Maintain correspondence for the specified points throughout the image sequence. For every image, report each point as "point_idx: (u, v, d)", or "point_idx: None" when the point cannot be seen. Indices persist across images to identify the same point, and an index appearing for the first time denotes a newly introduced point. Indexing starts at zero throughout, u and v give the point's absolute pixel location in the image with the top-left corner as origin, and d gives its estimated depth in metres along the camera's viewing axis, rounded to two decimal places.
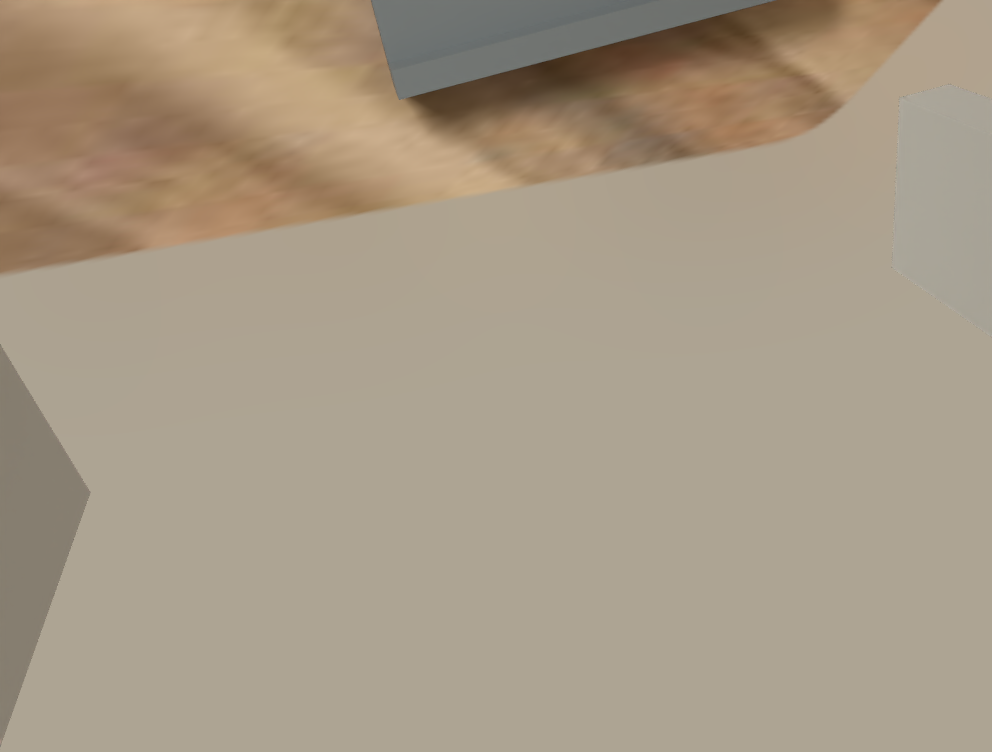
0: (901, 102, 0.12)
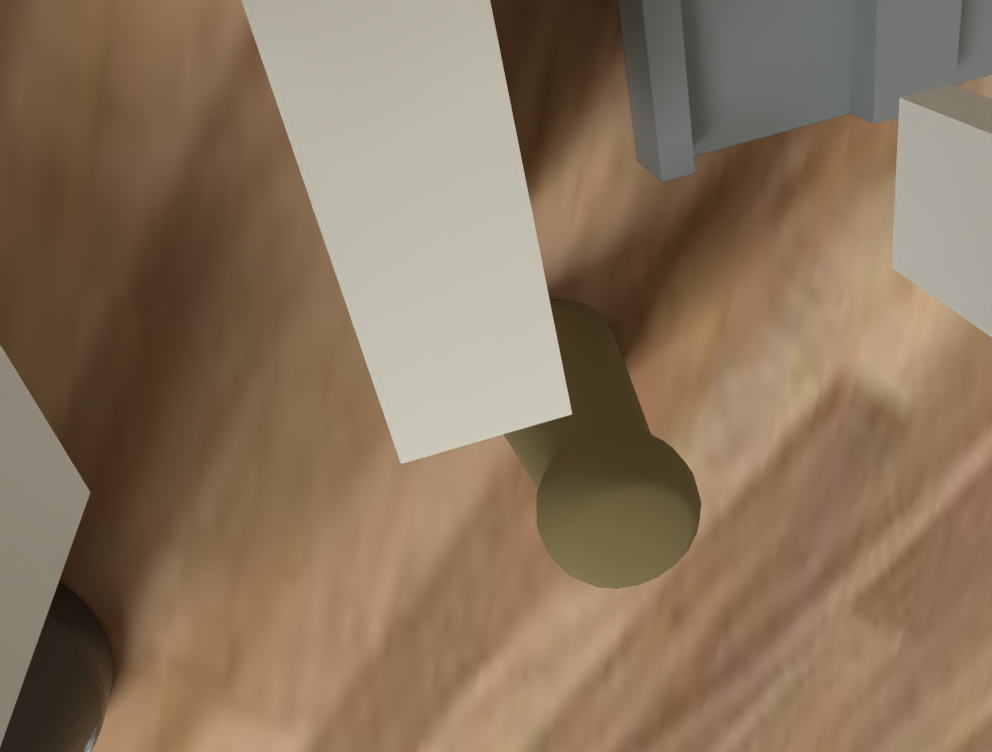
0: (901, 102, 0.12)
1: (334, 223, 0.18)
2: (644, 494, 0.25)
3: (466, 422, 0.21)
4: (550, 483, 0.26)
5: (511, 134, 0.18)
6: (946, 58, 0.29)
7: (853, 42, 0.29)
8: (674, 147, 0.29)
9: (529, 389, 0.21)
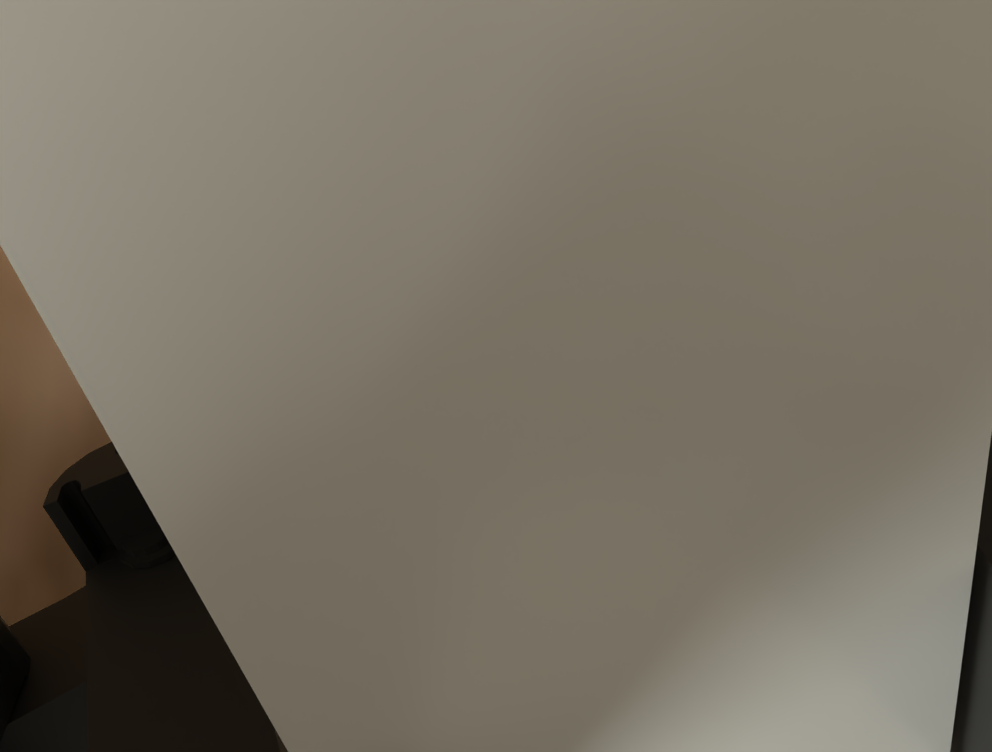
0: None
1: None
2: None
3: None
4: None
5: (948, 651, 0.06)
6: None
7: None
8: None
9: None
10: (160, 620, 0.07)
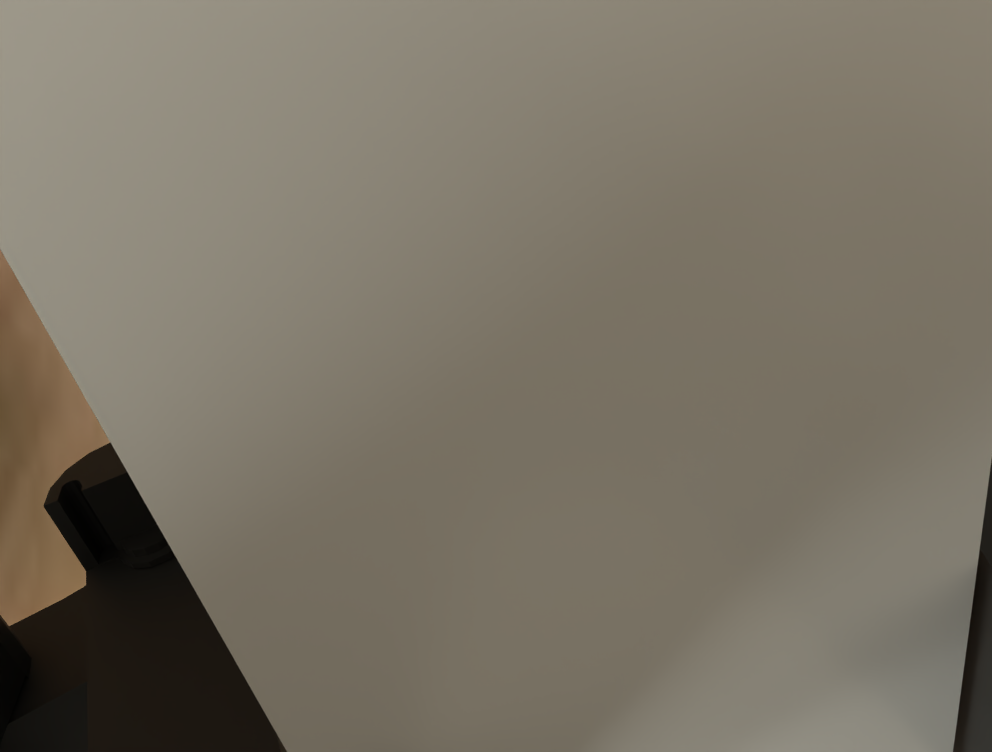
0: None
1: None
2: None
3: None
4: None
5: (951, 653, 0.06)
6: None
7: None
8: None
9: None
10: (161, 619, 0.07)
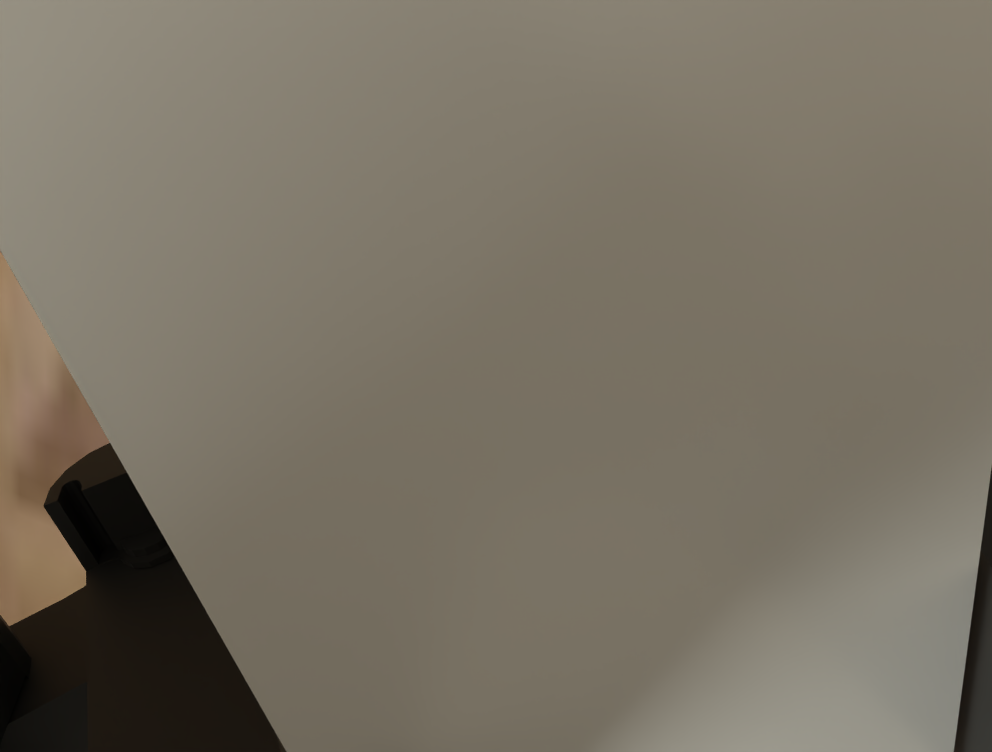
0: None
1: None
2: None
3: None
4: None
5: (952, 654, 0.06)
6: None
7: None
8: None
9: None
10: (161, 619, 0.07)
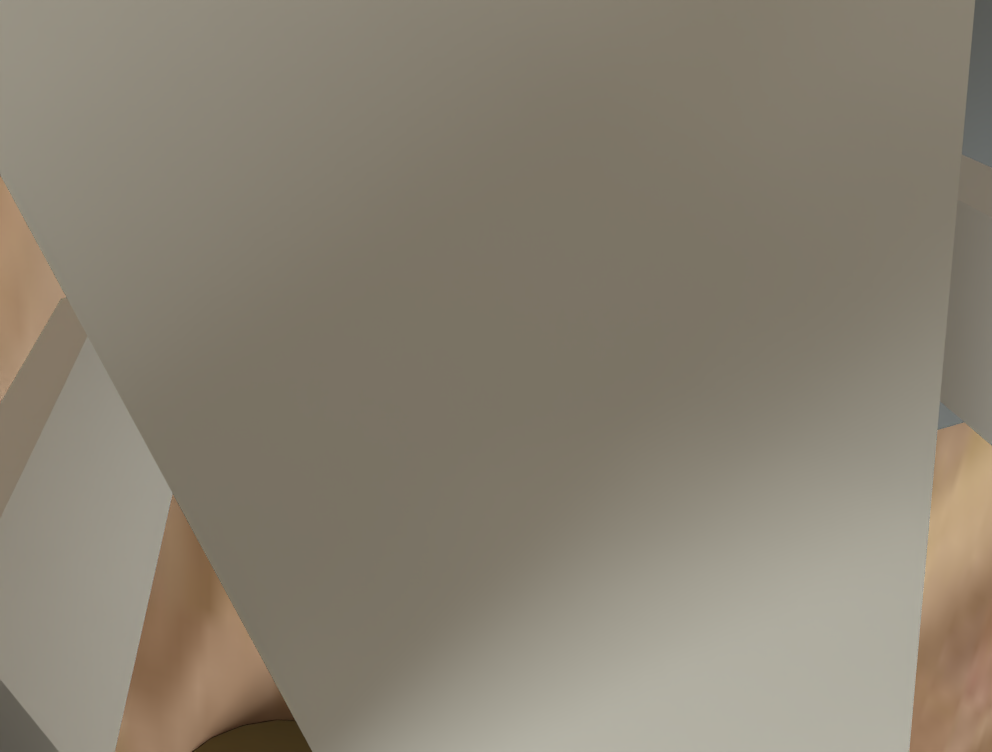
0: None
1: None
2: None
3: None
4: None
5: (908, 610, 0.06)
6: None
7: None
8: None
9: None
10: None
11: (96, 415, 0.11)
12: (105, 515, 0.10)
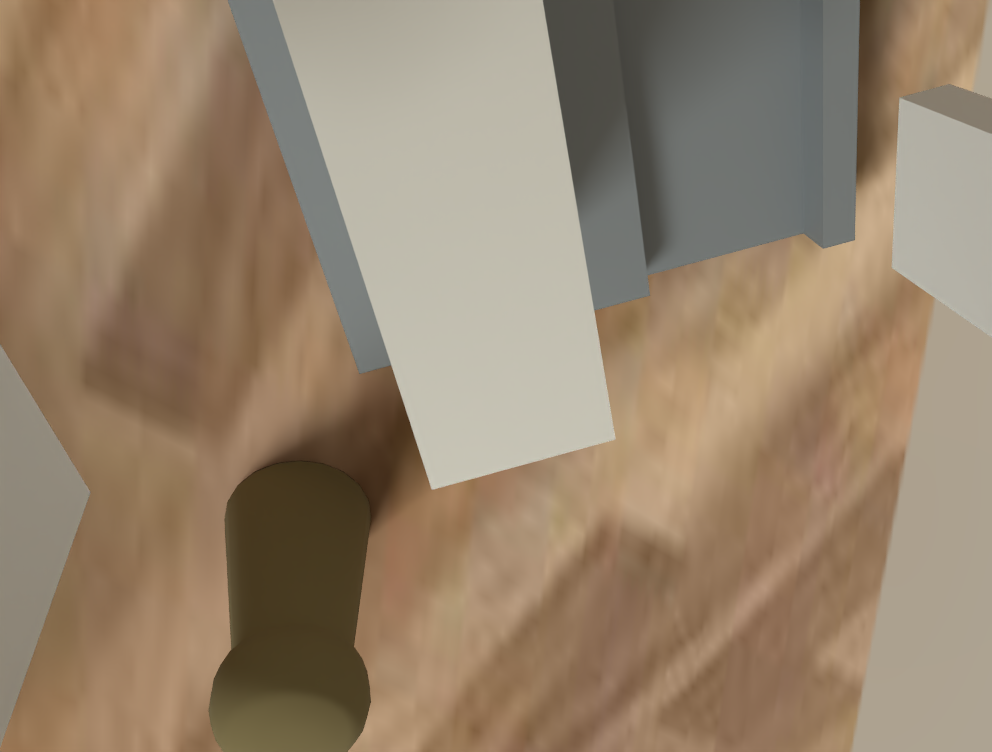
0: (901, 102, 0.12)
1: (366, 236, 0.17)
2: (289, 702, 0.26)
3: (503, 447, 0.20)
4: (215, 681, 0.28)
5: (560, 141, 0.16)
6: (633, 259, 0.30)
7: None
8: (366, 344, 0.30)
9: (570, 413, 0.20)
10: None
11: None
12: None
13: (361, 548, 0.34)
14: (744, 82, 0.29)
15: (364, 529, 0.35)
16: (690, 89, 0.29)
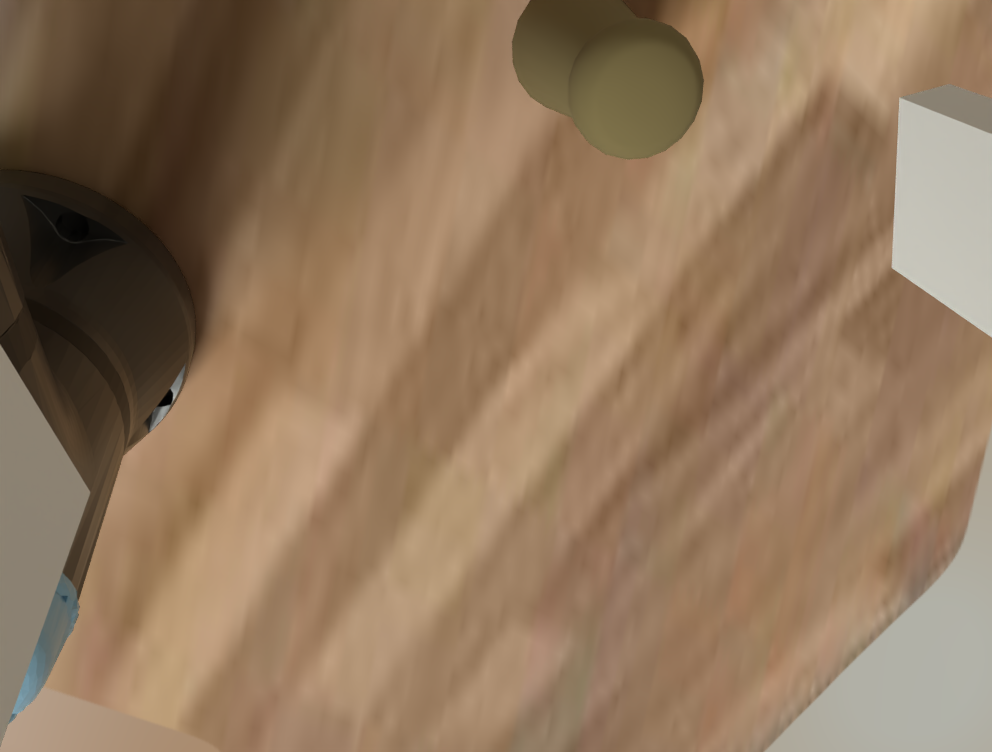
0: (901, 102, 0.12)
1: None
2: (657, 50, 0.31)
3: None
4: (580, 57, 0.32)
5: None
6: None
7: None
8: None
9: None
10: None
11: None
12: None
13: None
14: None
15: None
16: None
